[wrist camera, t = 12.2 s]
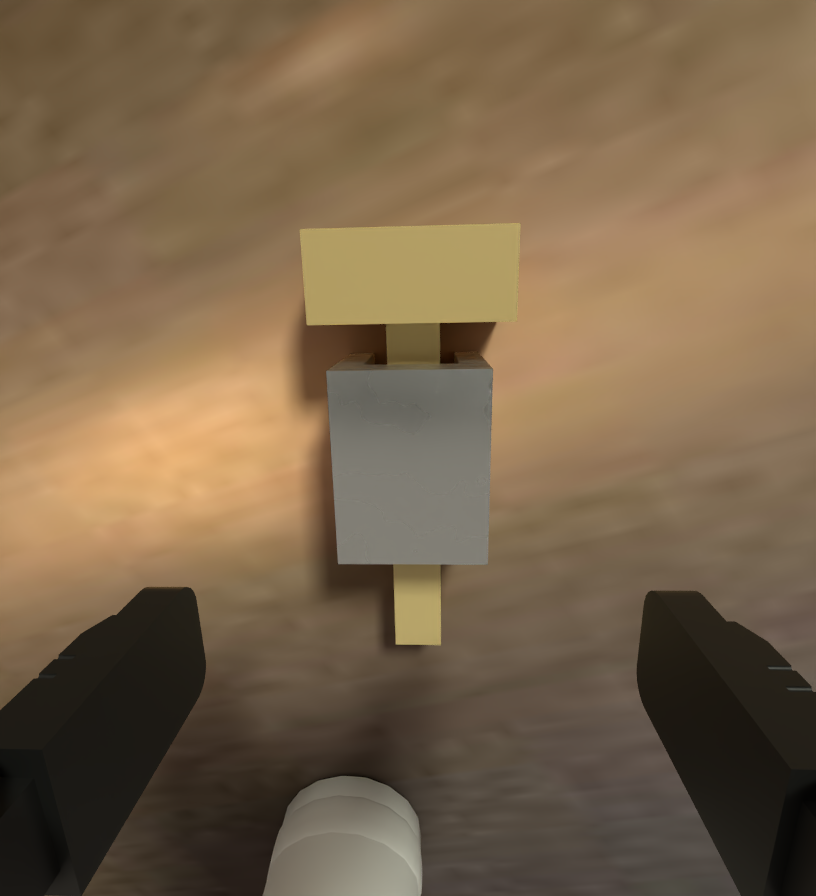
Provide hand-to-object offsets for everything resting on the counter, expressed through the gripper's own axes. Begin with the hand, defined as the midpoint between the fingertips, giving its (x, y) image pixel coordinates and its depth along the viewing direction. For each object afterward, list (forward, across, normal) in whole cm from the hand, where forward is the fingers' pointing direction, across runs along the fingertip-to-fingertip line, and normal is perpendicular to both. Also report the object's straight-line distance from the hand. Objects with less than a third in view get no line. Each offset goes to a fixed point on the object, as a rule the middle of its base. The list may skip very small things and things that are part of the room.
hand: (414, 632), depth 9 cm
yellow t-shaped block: (+14, 0, 0) cm, 14 cm away
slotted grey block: (+14, 0, 0) cm, 14 cm away
